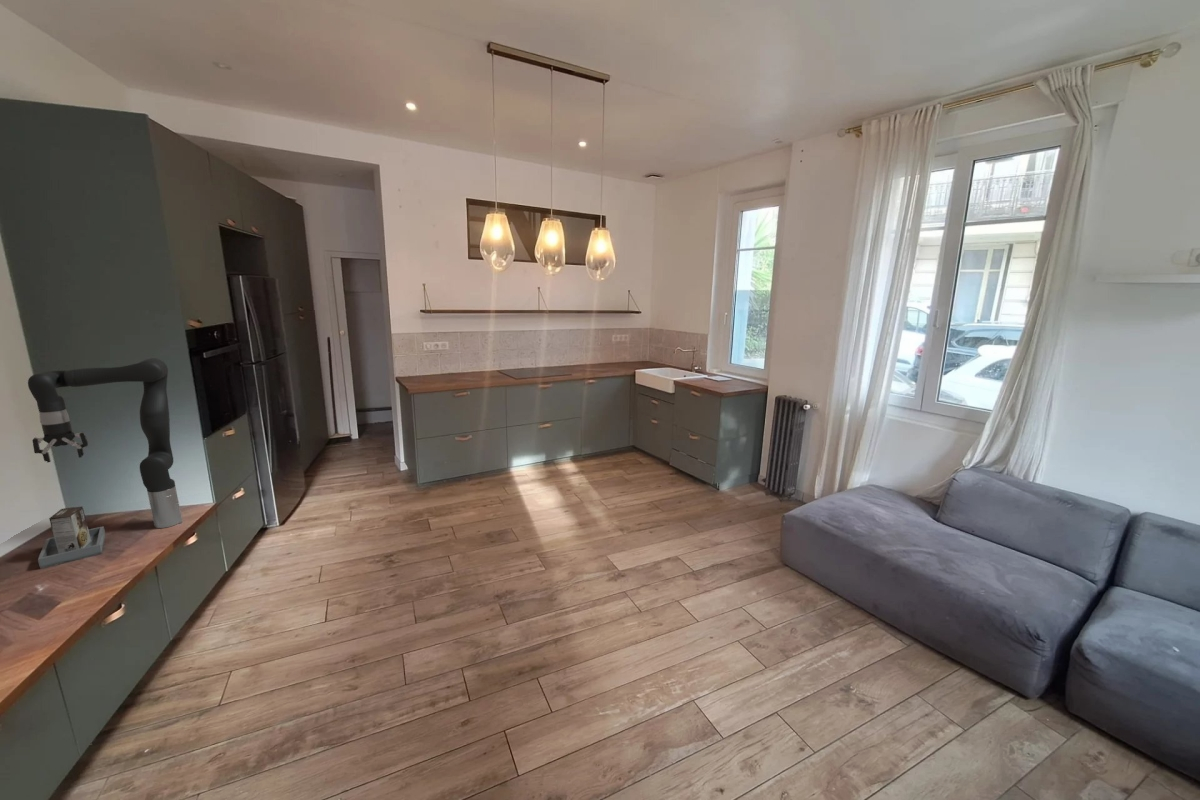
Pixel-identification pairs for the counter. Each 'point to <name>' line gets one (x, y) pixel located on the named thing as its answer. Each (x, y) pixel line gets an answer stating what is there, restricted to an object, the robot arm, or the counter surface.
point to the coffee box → (70, 529)
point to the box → (52, 557)
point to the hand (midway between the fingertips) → (64, 459)
